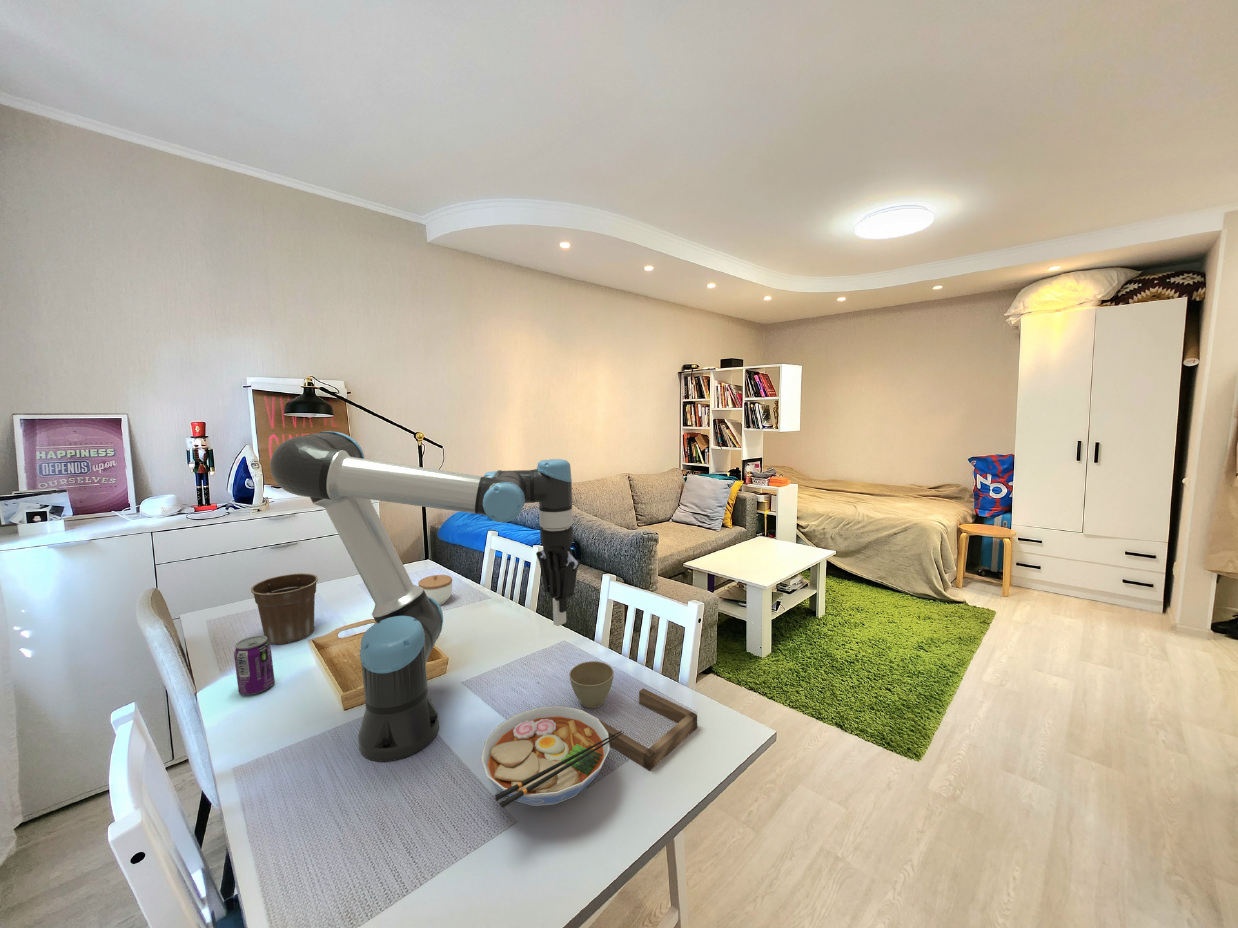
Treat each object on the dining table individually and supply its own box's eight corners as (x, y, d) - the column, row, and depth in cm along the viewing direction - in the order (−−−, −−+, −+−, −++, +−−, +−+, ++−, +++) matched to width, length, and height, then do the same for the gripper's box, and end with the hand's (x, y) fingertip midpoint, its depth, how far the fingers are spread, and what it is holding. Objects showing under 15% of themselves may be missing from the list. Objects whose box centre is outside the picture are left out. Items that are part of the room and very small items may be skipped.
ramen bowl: (571, 721, 108) (570, 686, 106) (641, 785, 90) (641, 743, 89) (456, 777, 92) (454, 737, 91) (514, 868, 74) (512, 819, 73)
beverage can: (278, 687, 121) (273, 641, 120) (242, 700, 116) (236, 652, 114) (270, 676, 126) (265, 631, 124) (235, 688, 121) (229, 642, 119)
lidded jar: (430, 595, 176) (428, 569, 175) (458, 596, 175) (457, 570, 173) (413, 607, 166) (411, 580, 164) (444, 609, 164) (442, 582, 163)
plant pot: (333, 621, 156) (328, 572, 154) (303, 648, 140) (297, 593, 138) (280, 623, 156) (274, 573, 153) (243, 649, 140) (236, 594, 137)
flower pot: (593, 683, 121) (593, 656, 120) (623, 701, 114) (622, 672, 113) (561, 701, 114) (560, 672, 113) (590, 721, 107) (589, 690, 106)
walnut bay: (649, 770, 93) (649, 756, 93) (594, 736, 103) (593, 722, 102) (697, 727, 105) (697, 714, 105) (643, 700, 115) (643, 688, 114)
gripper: (588, 527, 114) (590, 625, 118) (550, 519, 123) (553, 610, 126) (563, 535, 109) (566, 637, 112) (525, 525, 117) (530, 620, 121)
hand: (560, 623), depth 119 cm, fingers closed
